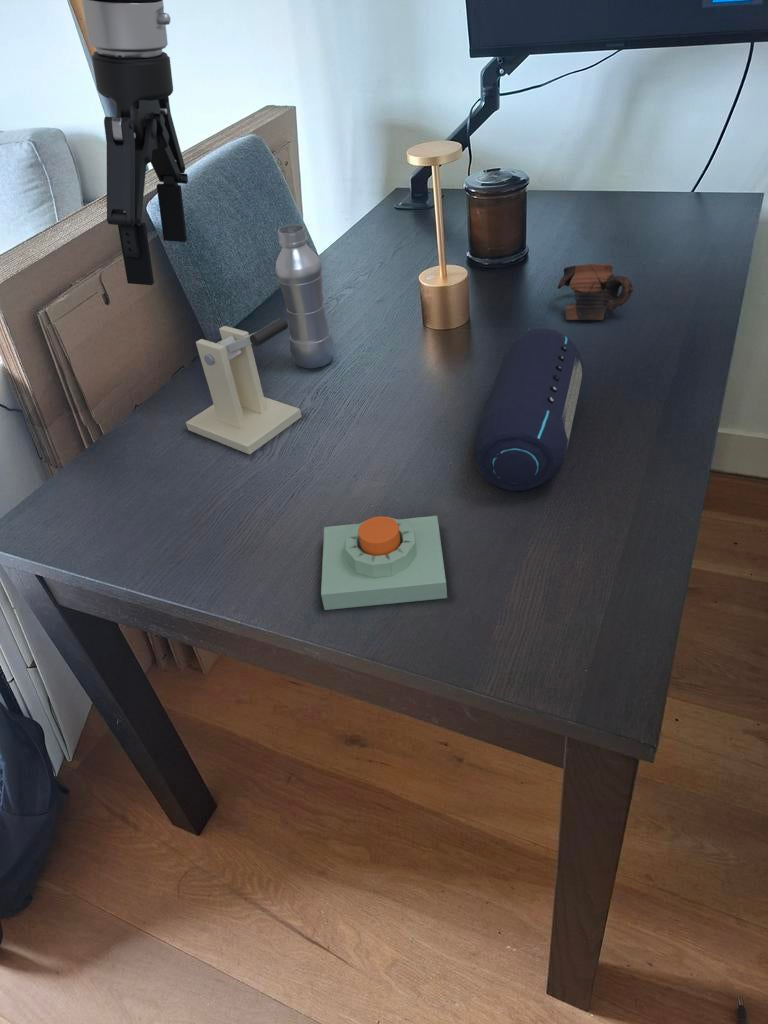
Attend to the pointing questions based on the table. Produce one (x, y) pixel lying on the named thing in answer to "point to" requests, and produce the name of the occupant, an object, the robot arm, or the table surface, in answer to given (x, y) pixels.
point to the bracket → (238, 399)
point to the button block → (383, 567)
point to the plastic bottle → (303, 298)
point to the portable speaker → (530, 411)
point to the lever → (253, 338)
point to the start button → (379, 536)
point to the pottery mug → (594, 291)
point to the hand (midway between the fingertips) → (159, 260)
